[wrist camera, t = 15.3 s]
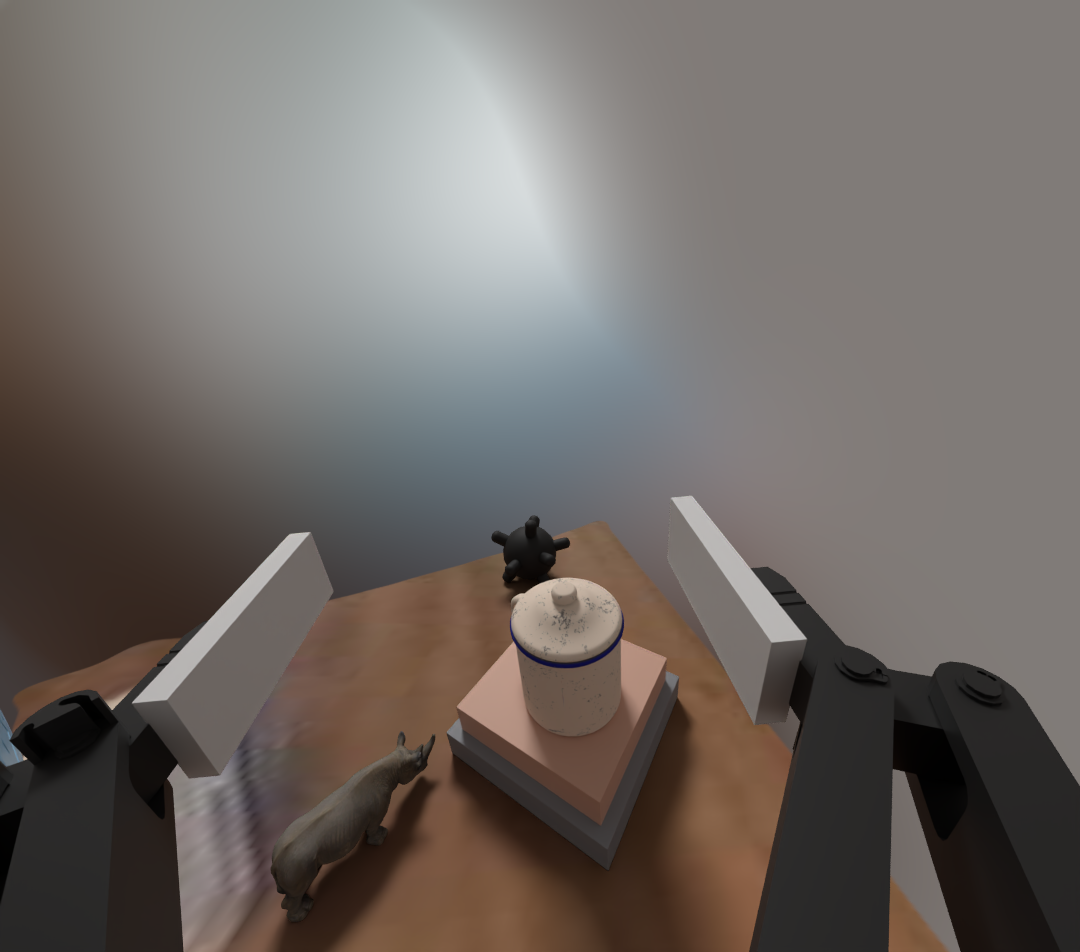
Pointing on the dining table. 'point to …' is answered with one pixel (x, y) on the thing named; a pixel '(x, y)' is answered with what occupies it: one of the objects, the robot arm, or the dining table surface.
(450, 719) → the dining table surface
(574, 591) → the teacup with lid
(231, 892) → the dining table surface
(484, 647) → the dining table surface
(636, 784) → the brick plinth
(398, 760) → the rhino figurine
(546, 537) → the toy ball
